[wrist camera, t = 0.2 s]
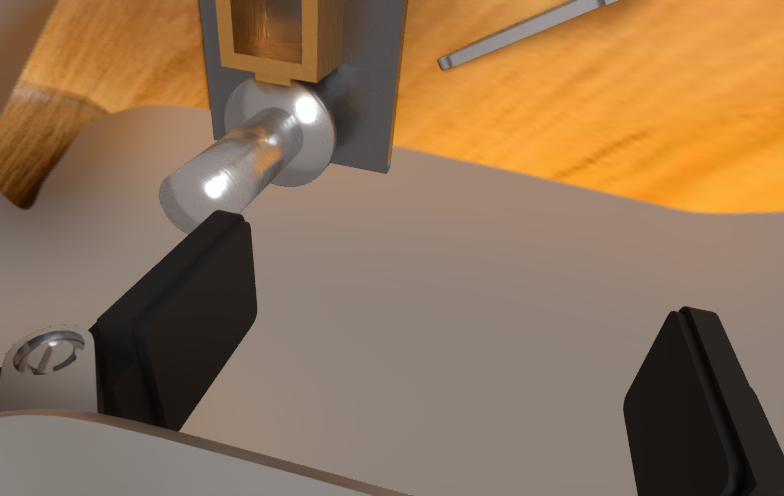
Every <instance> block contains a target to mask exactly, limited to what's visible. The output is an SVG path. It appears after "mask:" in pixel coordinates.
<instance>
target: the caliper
mask: <svg viewBox="0 0 784 496" xmlns="http://www.w3.org/2000/svg"><path fill="white" fill-rule="evenodd" d="M615 1H618V0H570V1H568V2H566V3H564V4H561V5H559V6H557V7H554V8H552V9H550V10H547V11H545V12H543V13H541V14H538V15H536V16H534V17H531V18H529V19H527V20H524V21H522V22H520V23H517V24H515V25H513V26H510V27H508V28H506V29H504V30H501V31H499V32H497V33H494V34H492V35H490V36H487V37H485V38H483V39H480V40H478V41H476V42H473V43H471V44H469V45H467V46H465V47H462V48H460V49H458V50H456V51H454V52H452V53H450V54H448V55H446V56H443V57H441V58H439V59H438V61H439V63H440V65H441V68H442V70H445V69H447V68H450V67H452V66H454V67H455V66H457V65H460V64H462V63H465V62H467V61H470V60H472V59H474V58H477V57H479V56H482V55H484V54H487V53H489V52H491V51H494V50H496V49H499V48H501V47H504V46H506V45H508V44H511V43H513V42H516V41H518V40H520V39H523V38H525V37H528V36H530V35H533V34H535V33H537V32H540V31H542V30H545V29H547V28H550V27H552V26H554V25H557V24H559V23H562V22H564V21H566V20H569V19H571V18H574V17H576V16H579V15H581V14H583V13H586V12H588V11H591V10H593V9H595V8H598V7H600V6H603V5H608V4H610V3H613V2H615Z"/></svg>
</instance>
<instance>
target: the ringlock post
mask: <svg viewBox="0 0 784 496" xmlns="http://www.w3.org/2000/svg"><path fill="white" fill-rule="evenodd" d="M199 2H200V11H201V21H202V30H203V40H204V49H205V59H206V68H207V78H208V87H209V97H210V106H211V115H212V125H213V135H214V140H218V141H217V142H216V143H214V144H213V145H212V146H210V147H209V148H207V149H206V150H205V151H203V152H202V153H200V154H199V155H198V156H196V157H195V158H193V159H192V160H191V161H189V162H188V163H186V164H185V165H184V166H182V167H181V168H179V169H178V170H176V171H175V172H174V173H172V174H171V175H169V176H168V177H167V178H165V180H164V181H163V182H162V184H161V186H160V190H159V198H160V203H161V206H162V208H163V210H164V212H165V214H166V215H167V217H168V218H169V220H170V221H171V222H172V223H173V224H174V225H175V226H176V227H178V228H179V229H180V230H182V231H183V232H185V233H187V234H190V233H191V232H192V231H193V230H194V229H196V228H197V227H198V226H199V225H200V224H201V223H202V222H203V221H204V220H205V219H206V218H207V217H209V216H210V215H211V214H212V213H213V212H214V211H216V210H223V211H227V212H232V213H237V214H240V213H241V212H242V211H243V210H244V209H245V208H246V207H247V206H248V204H250V203H251V202H252V200H253V199H254V198H255V197H256V196H257V195H258V194H259V193H260V192H261V191H262V190H263V189H264V188H265V187H266V186H267V185H268V184H269V183H272V184H275V185H279V186H285V187H295V186H300V185H304V184H307V183H309V182H311V181H313V180H315V179H316V178H317V177H318V176H320V175H321V173H322V172H323V171H324V170H325V169H326V168H327V166H328V165H329V164H330V163H334V164H340V165H345V166H349V167H354V168H360V169H365V170H370V171H375V172H380V173H385V174H387V172H388V170H389V168H390V163H391V154H392V145H393V135H394V126H395V116H396V107H397V97H398V88H399V79H400V69H401V60H402V50H403V41H404V31H405V22H406V13H407V3H408V0H199Z"/></svg>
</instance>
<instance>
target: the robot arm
mask: <svg viewBox="0 0 784 496" xmlns="http://www.w3.org/2000/svg"><path fill="white" fill-rule="evenodd" d="M256 315H257V300H256V287H255V274H254V262H253V250H252V237H251V227H250V224H249V223H248V222H245V220H244V217H243V216H242V215H241V214H237V213H232V212H227V211H223V210H216V211H214V212H213V213H212V214H211V215H210V216H209V217H207V218H206V219H205V220H204V221H203V222H202V223H201V224H200V225H199V226H198V227H197V228H196V229H194V230H193V231H192V232H191V233H190V234H189V235H188V236H187V237H186V238H185V239H184V240H183V241H182V242H180V243H179V244H178V245H177V246H176V247H175V248H174V249H173V250H172V251H171V252H170V253H168V254H167V255H166V256H165V257H164V258H163V259H162V260H161V261H160V262H159V263H158V264H157V265H155V267H153V268H152V269H151V270H150V271H149V272H148V273H147V274H146V275H145V276H144V277H142V278H141V280H139V281H138V282H137V283H136V284H135V285H134V286H133V287H132V288H131V289H129V291H127V292H126V293H125V294H124V295H123V296H122V297H121V298H120V299H119V300H118V301H116V302H115V303H114V304H113V305H112V306H111V307H110V308H109V309H108V310H107V311H106V312H105V313H103V314H102V315H101V316H100V317H99V318H98V319H97V322H96V323H95V324H94V325H93V326H92V327H91V328H90V329H89V330H87V329H85V328H82V327H79V326H77V325H57V326H50V327H47V328H44V329H41V330H37V331H35V332H33V333H31V334H29V335H27V336H25V337H23V338H22V339H21V340H19V341H18V342H17V343H15V344H14V345H13V346H12V347H11V348H10V350H9V351H8V352H7V353H6V355H5V357H4V360H3V363H2V367H0V496H412V495H408V494H405V493H401V492H398V491H394V490H390V489H387V488H383V487H379V486H376V485H372V484H368V483H365V482H362V481H358V480H354V479H351V478H347V477H344V476H340V475H336V474H333V473H329V472H325V471H322V470H318V469H315V468H311V467H307V466H304V465H300V464H296V463H292V462H289V461H285V460H282V459H278V458H274V457H271V456H267V455H263V454H260V453H256V452H252V451H248V450H245V449H241V448H237V447H233V446H230V445H226V444H223V443H219V442H215V441H211V440H208V439H204V438H200V437H196V436H193V435H189V434H185V433H181V432H178V431H179V430H180V429H181V428H182V426H183V424H184V423H185V422H186V420H187V419H188V417H189V416H190V415H191V413H192V412H193V410H194V409H195V407H196V406H197V404H198V403H199V401H200V400H201V398H202V397H203V396H204V394H205V393H206V391H207V390H208V388H209V387H210V386H211V384H212V383H213V381H214V380H215V378H216V377H217V375H218V374H219V373H220V371H221V370H222V368H223V367H224V365H225V364H226V362H227V361H228V359H229V358H230V357H231V355H232V354H233V352H234V351H235V349H236V348H237V347H238V344H240V342H241V341H242V339H243V338H244V336H245V335H246V334H247V332H248V331H249V329H250V328H251V326H252V325H253V323H254V321H255V319H256ZM623 411H624V418H625V424H626V429H627V435H628V441H629V447H630V453H631V458H632V464H633V470H634V476H635V481H636V487H637V492H638V496H784V455H783V453H782V450H781V448H780V446H779V444H778V442H777V439H776V437H775V435H774V433H773V431H772V429H771V426H770V424H769V422H768V420H767V417H766V415H765V413H764V411H763V409H762V406H761V404H760V402H759V400H758V398H757V395H756V394H755V392H754V391H753V389H752V388H751V387H750V386H749V383H748V381H747V379H746V377H745V375H744V372H743V370H742V368H741V366H740V363H739V361H738V359H737V357H736V355H735V352H734V350H733V348H732V346H731V343H730V341H729V339H728V337H727V335H726V333H725V330H724V328H723V326H722V324H721V321H720V319H719V317H718V315H717V314H716V313H714V312H711V311H706V310H701V309H696V308H691V307H686V306H685V307H682V308H681V309H680V310H679V312H676V311H671V312H670V313H669V315H668V316H667V318H666V320H665V322H664V324H663V326H662V328H661V330H660V331H659V333H658V335H657V337H656V339H655V341H654V343H653V345H652V347H651V349H650V351H649V353H648V354H647V356H646V358H645V360H644V362H643V364H642V366H641V368H640V370H639V372H638V373H637V375H636V377H635V379H634V381H633V383H632V385H631V387H630V389H629V391H628V392H627V394H626V397H625V400H624V408H623Z"/></svg>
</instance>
